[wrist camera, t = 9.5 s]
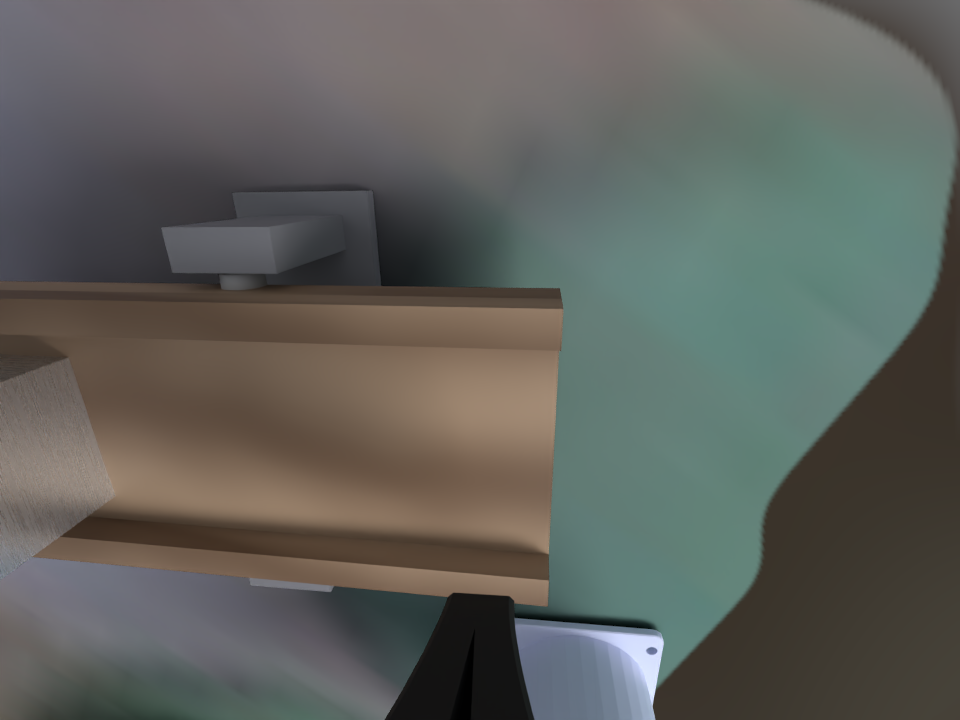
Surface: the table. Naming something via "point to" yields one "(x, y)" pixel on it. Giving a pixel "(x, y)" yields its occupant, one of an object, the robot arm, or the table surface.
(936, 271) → the table surface
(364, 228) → the stand
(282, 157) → the table surface
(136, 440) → the tan wooden tray
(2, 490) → the block
